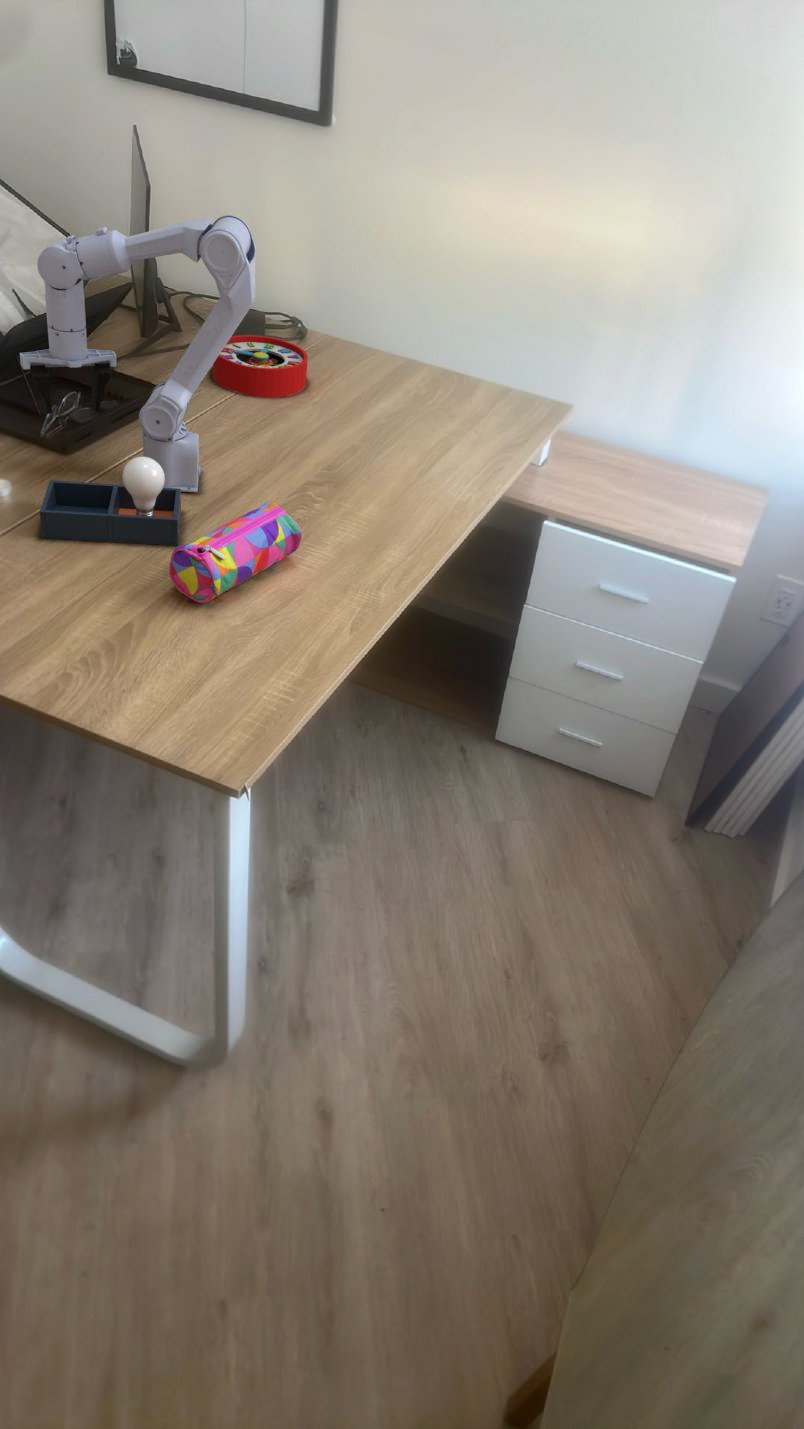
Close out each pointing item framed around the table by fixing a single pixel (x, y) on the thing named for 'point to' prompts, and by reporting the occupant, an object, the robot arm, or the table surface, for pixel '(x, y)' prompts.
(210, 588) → the pencil case
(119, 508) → the organiser
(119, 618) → the table surface
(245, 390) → the toy clock
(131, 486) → the lightbulb
